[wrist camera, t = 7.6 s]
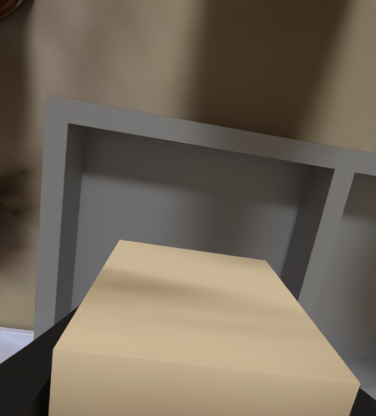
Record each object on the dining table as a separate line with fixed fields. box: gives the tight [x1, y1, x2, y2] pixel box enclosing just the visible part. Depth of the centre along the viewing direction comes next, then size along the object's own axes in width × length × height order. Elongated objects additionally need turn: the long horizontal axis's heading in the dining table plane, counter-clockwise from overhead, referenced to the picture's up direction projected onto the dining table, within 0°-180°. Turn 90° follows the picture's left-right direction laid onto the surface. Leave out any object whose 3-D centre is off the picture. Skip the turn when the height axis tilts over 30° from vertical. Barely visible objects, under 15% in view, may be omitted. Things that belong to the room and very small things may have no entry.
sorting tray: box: [33, 95, 376, 400], centre depth 16 cm, size 14×28×3 cm, turn 81°
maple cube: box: [49, 240, 360, 416], centre depth 7 cm, size 5×5×5 cm
